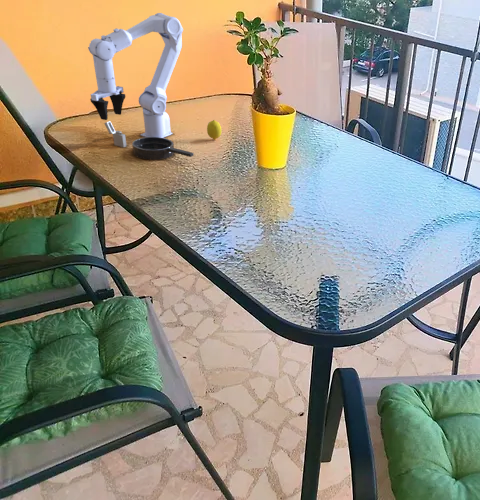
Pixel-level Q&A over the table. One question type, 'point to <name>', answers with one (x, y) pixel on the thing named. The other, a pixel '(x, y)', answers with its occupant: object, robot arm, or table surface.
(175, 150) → the pan handle
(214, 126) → the lemon
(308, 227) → the table surface
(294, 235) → the table surface
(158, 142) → the pan
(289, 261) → the table surface
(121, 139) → the lighter
